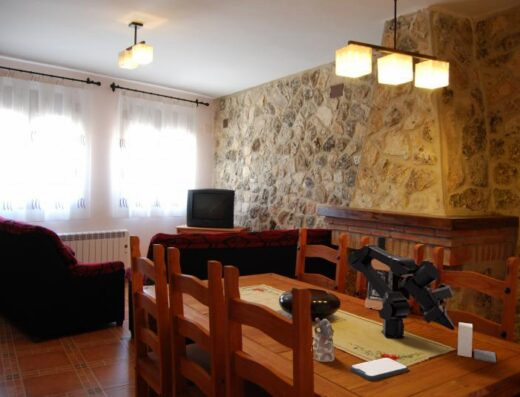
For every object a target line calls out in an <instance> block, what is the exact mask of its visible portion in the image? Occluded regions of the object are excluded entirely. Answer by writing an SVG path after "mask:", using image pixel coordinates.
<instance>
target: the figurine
mask: <svg viewBox="0 0 520 397" xmlns="http://www.w3.org/2000/svg"><path fill="white" fill-rule="evenodd" d="M315 321H316V325H315V326H314V330H313V331H314V335H315V336H314V337H313V342H312V345H313V349H314V359H313V360H315V361H318V362H321V363H323V362H324V363H326V362H328V363H329V362H333V361H334V360H335V359H336V358H335V348H334V339H333V337H334V333H335V331H334V329H333V327H332V324H331V322H330V321H329V320H328V319H327V318H323V319H322V320H321V319H320V318H319V317H316V318H315ZM318 329H319V330H320V331H318Z"/></svg>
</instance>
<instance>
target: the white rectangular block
mask: <svg viewBox="0 0 520 397" xmlns="http://www.w3.org/2000/svg"><path fill="white" fill-rule="evenodd" d="M472 350H473V323H469V322H468V323H466V322H458V332H457V356H462V357H466V358H467V357H468V358H472V352H473V351H472Z"/></svg>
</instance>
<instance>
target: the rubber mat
mask: <svg viewBox="0 0 520 397" xmlns="http://www.w3.org/2000/svg"><path fill="white" fill-rule="evenodd" d="M473 353H474V354H473V356H474V358H473V359H474V360H479V361H485V362H489V363H497V358H496V352H495V351H494V352H493V351H488V350H481V349H475V348H474V349H473Z"/></svg>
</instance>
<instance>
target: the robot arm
mask: <svg viewBox="0 0 520 397" xmlns="http://www.w3.org/2000/svg"><path fill="white" fill-rule="evenodd" d="M374 259H376V260H378V261H380V262H381V263H383V264H385V265H387V266H388V267H389V268H390V270H391V271H392V272H393V275H394V274H395V276H397V277H403V276H406V277H405V278H400V279H398V281H397V284H398V285H397V288H398V289H399V290H401V289H402V288H404V289H405V290H406V291H407V292H408V294H409V295H410V296H411V297H412V298H413V299H414V302H415V304H419V306H420V307H421V308H422V309H423V310H422V311H423V313H424V314H423V320H424V322H426V324H430V323H431V322H434V323H436V324H438V325H440V326H442V327H443V328H446V329H448V330H451V331H454V330H456V327H455V326H454V324H453V322H452V320H451V318H450V317H449V315H448V314H447V304H445V305H443V306H442V304H443V303H446V302H447V299H451V298H453V296H454V293H453V291H452V288H451V286H450V285H449V284H448V285H446V284H445V283H444V282H443V283H442V282H441V283H440V284H439V285H438V288H436V289H432V288H430V287H428V286H429V285H431V284H432V283H433V282H435V281H437V279H440V276H441V274H440V270H439V268H438V267H436V266H435V265H434V264H432V263H431V262H430V260H423V261H422V262H421V263H420V264H418V263H416V262H415V260H414V259H412V258H408V257H406V256H405V257H404V256H402V257H401V256H398V255H395V254H394V253H393V254H392V253H390V252H389V251H387V250H386V251H385V250H383V249H381V248H379V247H377V244H366V245H363V246H362V247H360V248H359V249H357V250H354V251H352V252H349V254H348V256H347V263H348V265H349V266H350V267H351V268H352V269H353V270H355V271H357V272H359V273H361V274H362V276H363V277H364V278H365V279H366V281H367V283H368V282H369V283H370V284H371V286H372V287H373V288H374V290H375V291H376V292H377V293H378V295H379V296H380V297H381V299H382V306H383V308H382V309H381V310H378V314H379V315H378V316H379V318H380V319H382V330H381V333H382V335H383V336H384V337H385V338H387V339H388V338H389V339H405V336H404V335H405V323H404V319H405V320H406V319H408V315H409V313H410V309H411V308H410V303H409V301H408V298H406V297H405V295H404V293H403V292H401V291H393V289H392V290H391V288H390V287H389V286H388V285H387V284H386V282H385V281H384V280H383V279H382V278H381V276H380V275H379V274H378V273H377V271H376V270H375V269H374V268H373V267H372V261H373V260H374Z"/></svg>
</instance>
